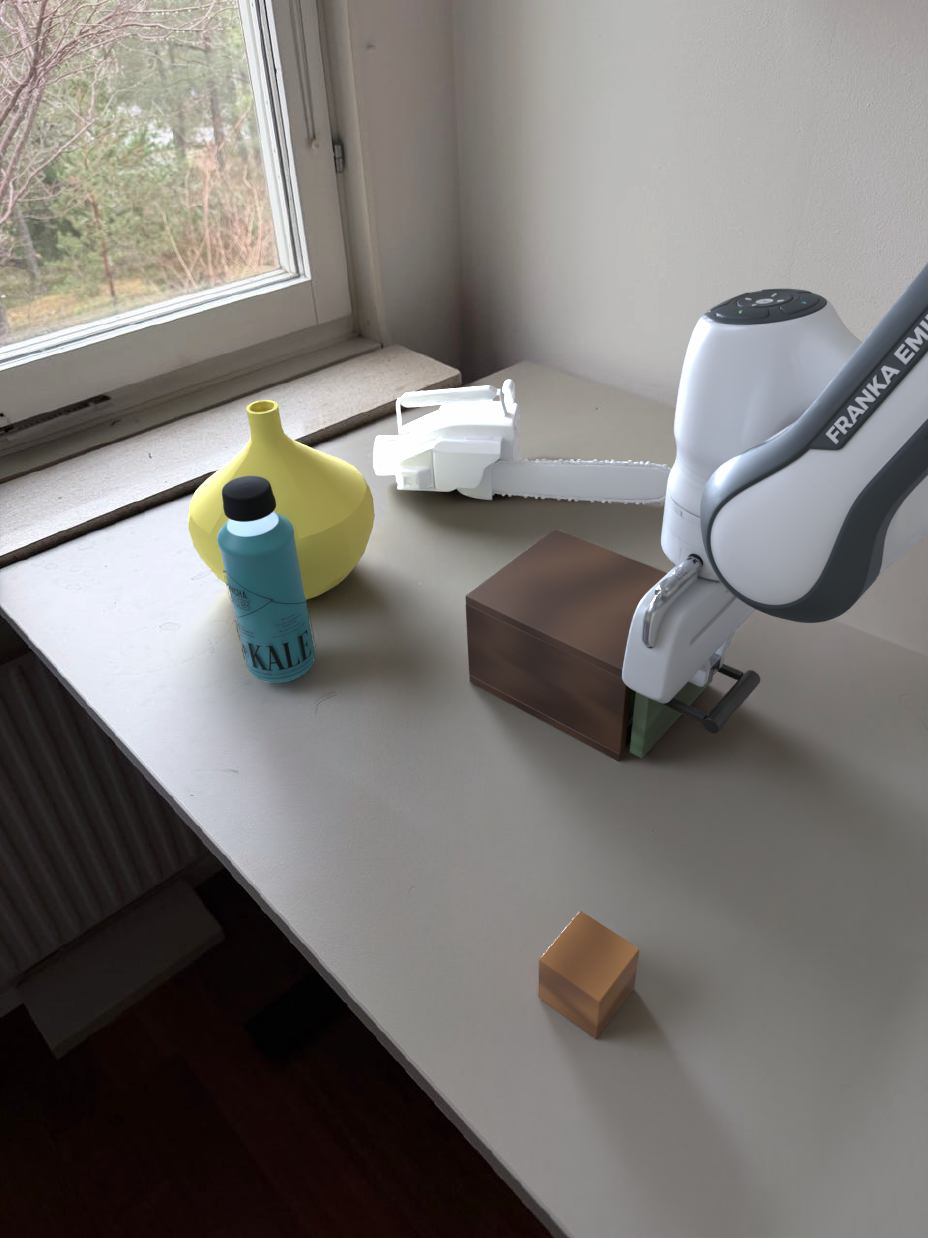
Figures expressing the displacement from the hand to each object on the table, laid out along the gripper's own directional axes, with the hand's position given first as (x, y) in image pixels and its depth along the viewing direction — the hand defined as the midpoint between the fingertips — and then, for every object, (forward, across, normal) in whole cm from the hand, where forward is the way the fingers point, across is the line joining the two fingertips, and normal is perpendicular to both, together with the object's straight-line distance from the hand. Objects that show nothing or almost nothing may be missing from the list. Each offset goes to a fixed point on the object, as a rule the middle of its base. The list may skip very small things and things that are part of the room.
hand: (702, 674), depth 74 cm
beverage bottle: (+7, -16, +33) cm, 37 cm away
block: (+7, -25, -6) cm, 26 cm away
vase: (+7, -5, +44) cm, 45 cm away
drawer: (+6, 0, +6) cm, 9 cm away
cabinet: (+7, 0, +11) cm, 13 cm away
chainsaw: (+7, +26, +36) cm, 45 cm away
